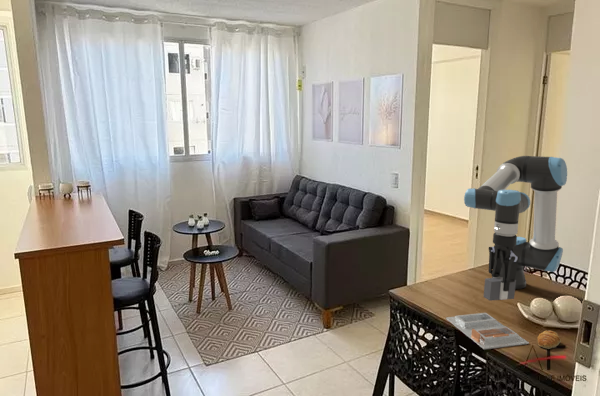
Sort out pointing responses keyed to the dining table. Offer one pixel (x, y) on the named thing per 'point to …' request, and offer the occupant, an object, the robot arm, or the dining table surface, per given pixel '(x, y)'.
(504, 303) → the dining table surface
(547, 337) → the pastry
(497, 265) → the robot arm
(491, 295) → the grey rectangular block
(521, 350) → the dining table surface
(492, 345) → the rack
